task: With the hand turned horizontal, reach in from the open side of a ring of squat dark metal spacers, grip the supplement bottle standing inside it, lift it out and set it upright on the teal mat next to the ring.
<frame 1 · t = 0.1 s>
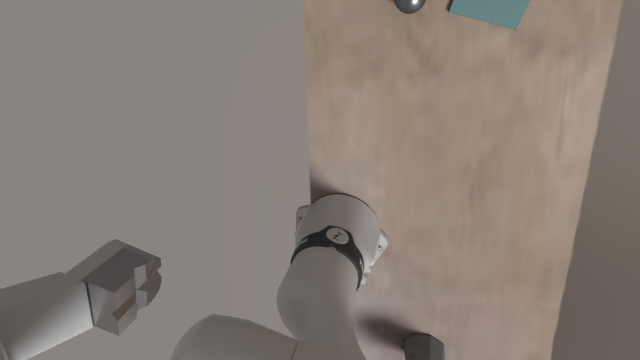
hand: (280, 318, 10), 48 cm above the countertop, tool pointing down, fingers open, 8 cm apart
coffeepot: (428, 348, 75), on the countertop
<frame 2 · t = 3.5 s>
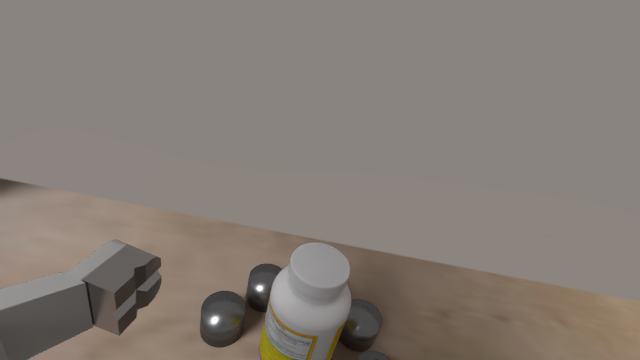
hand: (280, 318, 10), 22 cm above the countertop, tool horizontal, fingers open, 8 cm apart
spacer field: (292, 358, 32), on the countertop
supplement bottle: (291, 359, 32), on the countertop
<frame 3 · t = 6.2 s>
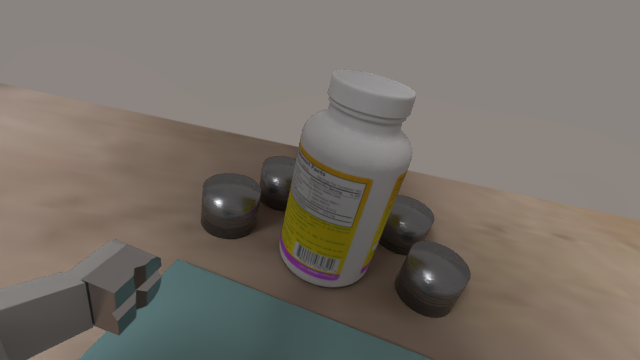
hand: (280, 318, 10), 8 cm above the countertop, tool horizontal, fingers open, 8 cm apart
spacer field: (322, 255, 24), on the countertop
supplement bottle: (321, 257, 25), on the countertop
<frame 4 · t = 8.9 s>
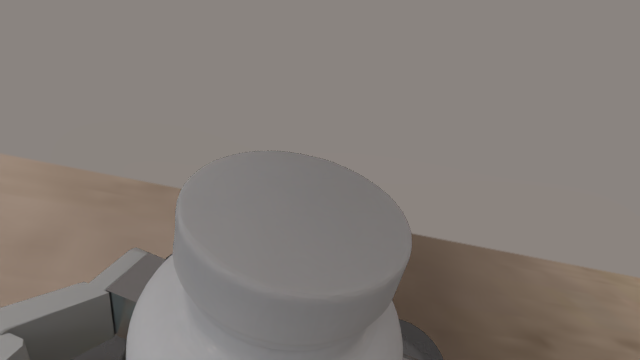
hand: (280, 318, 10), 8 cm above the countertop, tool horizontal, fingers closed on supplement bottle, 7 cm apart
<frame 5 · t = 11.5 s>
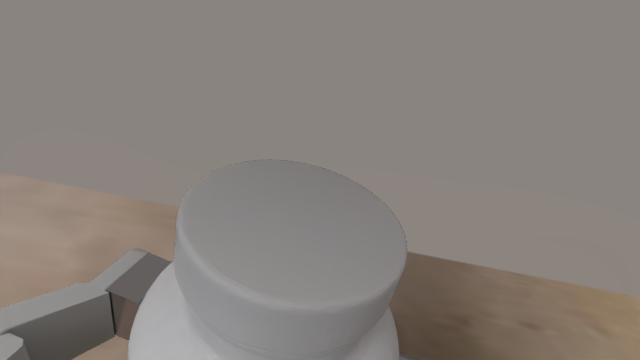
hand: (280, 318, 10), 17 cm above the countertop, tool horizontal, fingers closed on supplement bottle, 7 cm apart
when the fingers open (9 cm above the countertop, at t = 14.0 s): supplement bottle stays where it is, resting on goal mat.
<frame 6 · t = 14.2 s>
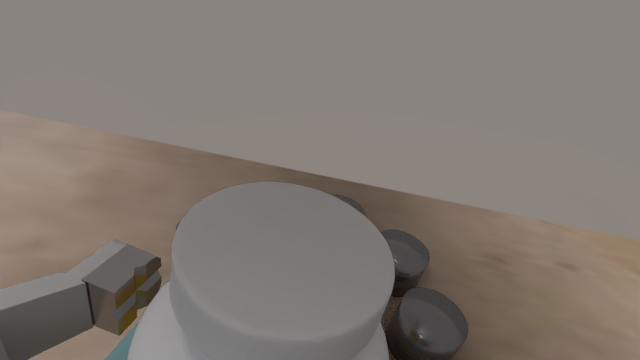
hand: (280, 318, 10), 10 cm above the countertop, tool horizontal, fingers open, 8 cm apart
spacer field: (307, 301, 22), on the countertop
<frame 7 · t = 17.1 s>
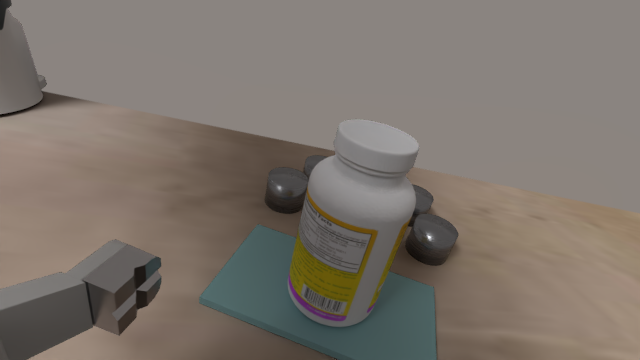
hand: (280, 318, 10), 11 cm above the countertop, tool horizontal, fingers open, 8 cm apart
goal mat: (327, 297, 25), on the countertop
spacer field: (352, 225, 34), on the countertop
supplement bottle: (328, 294, 25), resting on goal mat
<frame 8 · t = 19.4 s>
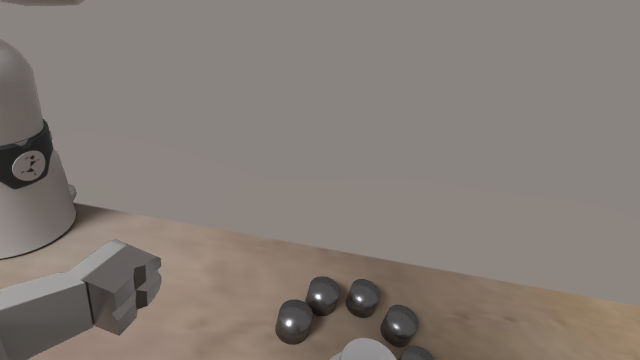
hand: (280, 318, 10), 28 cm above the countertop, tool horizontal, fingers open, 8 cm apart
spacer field: (349, 352, 40), on the countertop
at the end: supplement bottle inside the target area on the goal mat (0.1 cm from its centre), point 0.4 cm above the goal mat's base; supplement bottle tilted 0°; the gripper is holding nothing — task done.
